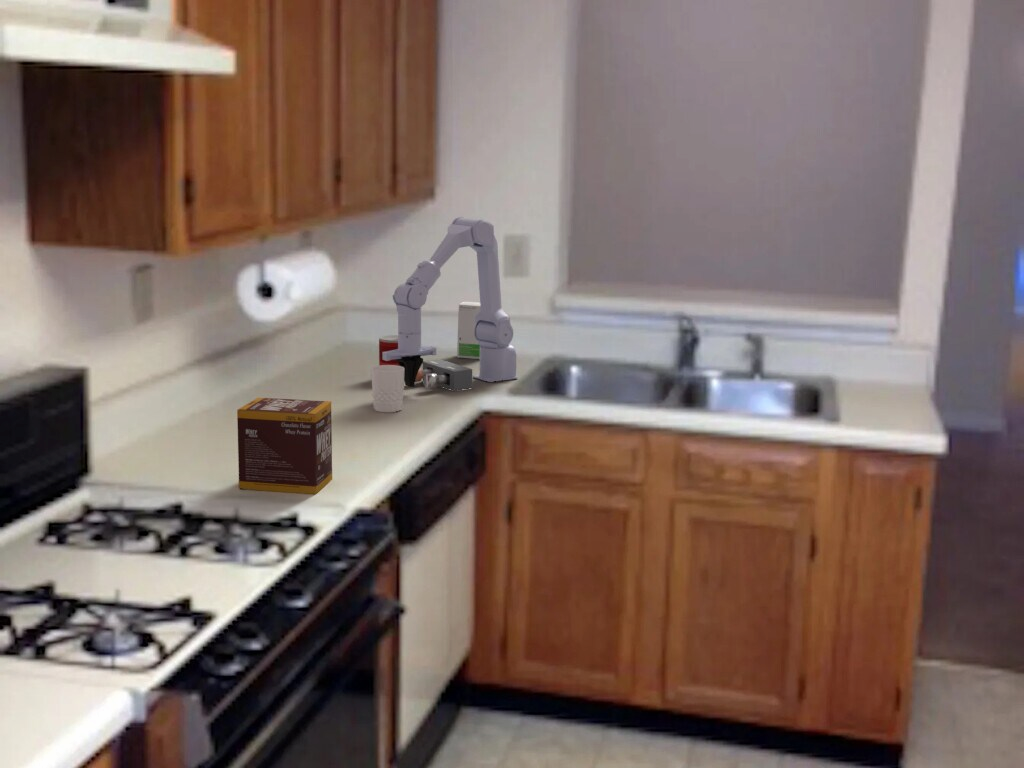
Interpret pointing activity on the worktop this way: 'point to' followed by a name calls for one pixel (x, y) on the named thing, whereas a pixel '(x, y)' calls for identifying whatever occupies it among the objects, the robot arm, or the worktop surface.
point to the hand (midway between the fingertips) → (409, 385)
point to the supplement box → (285, 445)
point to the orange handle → (422, 374)
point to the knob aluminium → (435, 380)
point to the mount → (451, 374)
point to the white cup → (388, 387)
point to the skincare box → (467, 331)
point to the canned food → (387, 348)
